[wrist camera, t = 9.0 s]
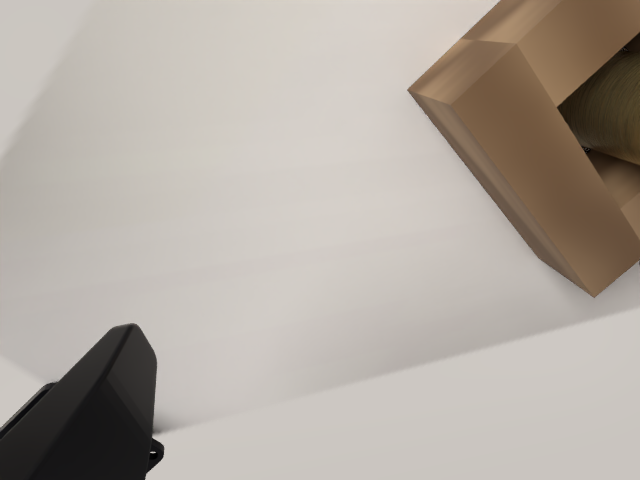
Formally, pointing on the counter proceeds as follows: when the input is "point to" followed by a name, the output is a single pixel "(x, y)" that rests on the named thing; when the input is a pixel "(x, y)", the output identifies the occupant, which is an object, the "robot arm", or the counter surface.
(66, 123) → the counter surface
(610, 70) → the brass pin
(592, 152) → the wooden socket block
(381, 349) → the counter surface
